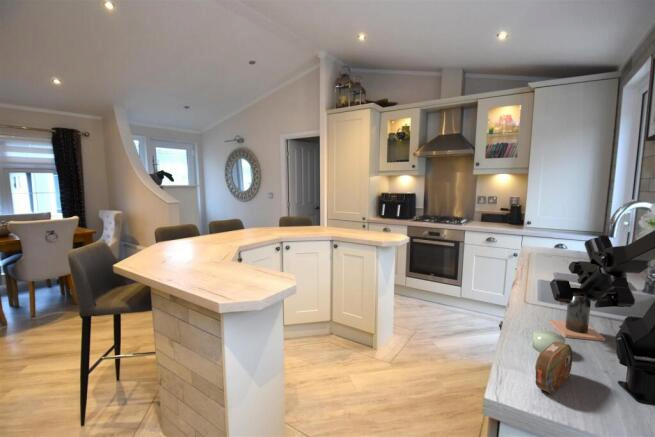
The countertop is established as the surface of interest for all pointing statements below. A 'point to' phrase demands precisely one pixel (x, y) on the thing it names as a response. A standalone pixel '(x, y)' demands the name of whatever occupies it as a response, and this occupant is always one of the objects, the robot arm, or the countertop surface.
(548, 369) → the tin
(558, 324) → the plate
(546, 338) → the pale green rounded piece
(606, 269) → the robot arm
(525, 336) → the countertop surface
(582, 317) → the canister
